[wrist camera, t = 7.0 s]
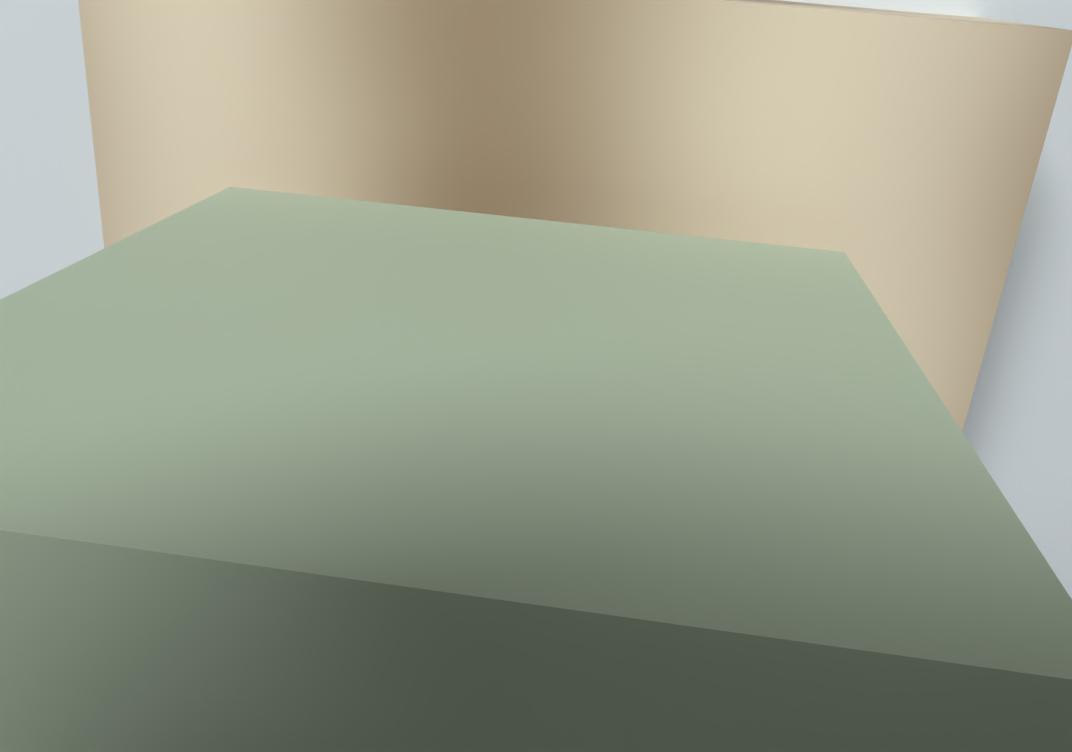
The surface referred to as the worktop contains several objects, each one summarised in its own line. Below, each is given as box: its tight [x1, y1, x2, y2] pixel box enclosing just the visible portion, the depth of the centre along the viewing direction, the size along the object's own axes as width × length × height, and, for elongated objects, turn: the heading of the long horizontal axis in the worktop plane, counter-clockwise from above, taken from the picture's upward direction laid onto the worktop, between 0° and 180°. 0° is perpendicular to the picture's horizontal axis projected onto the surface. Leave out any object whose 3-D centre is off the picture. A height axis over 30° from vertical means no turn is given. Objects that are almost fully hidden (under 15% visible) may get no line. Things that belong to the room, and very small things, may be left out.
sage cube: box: [0, 187, 1072, 752], centre depth 8 cm, size 6×6×6 cm
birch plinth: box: [78, 0, 1072, 431], centre depth 13 cm, size 10×10×3 cm
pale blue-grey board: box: [0, 0, 1072, 599], centre depth 15 cm, size 20×14×1 cm
